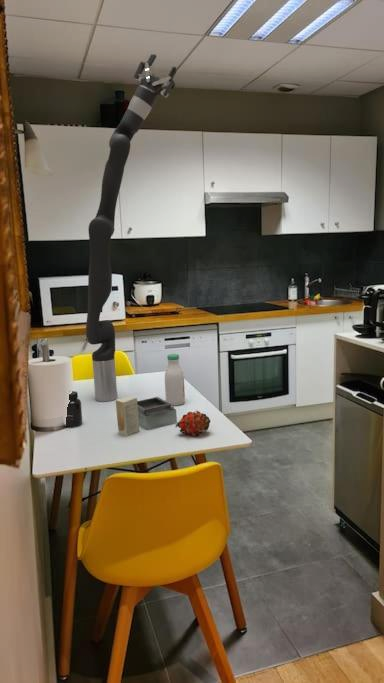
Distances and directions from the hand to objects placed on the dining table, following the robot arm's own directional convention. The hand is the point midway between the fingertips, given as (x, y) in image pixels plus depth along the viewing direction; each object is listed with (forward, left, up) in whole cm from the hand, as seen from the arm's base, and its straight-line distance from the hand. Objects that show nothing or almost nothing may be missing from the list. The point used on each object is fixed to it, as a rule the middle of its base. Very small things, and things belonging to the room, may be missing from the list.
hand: (165, 60), depth 177 cm
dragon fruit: (+31, -13, -127) cm, 132 cm away
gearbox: (+10, -19, -127) cm, 129 cm away
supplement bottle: (-4, -43, -127) cm, 135 cm away
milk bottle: (-2, -1, -127) cm, 127 cm away
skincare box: (+16, -30, -127) cm, 132 cm away
